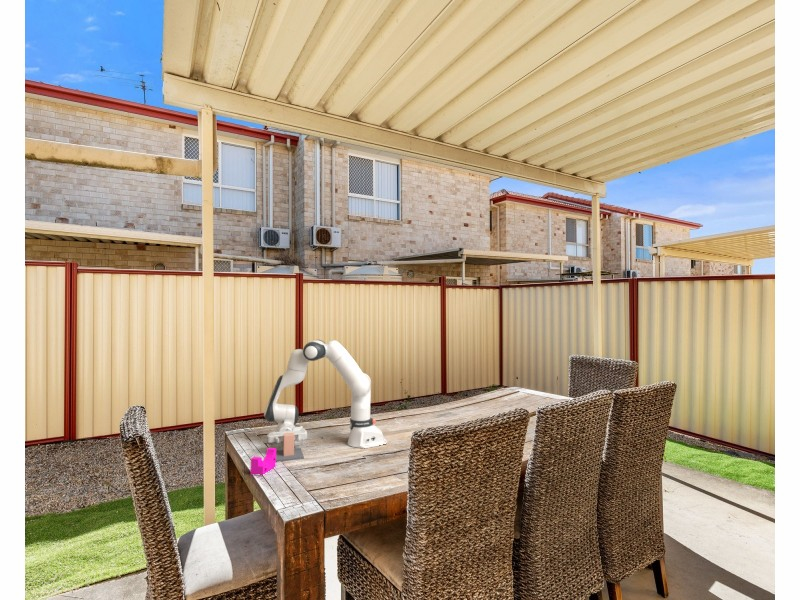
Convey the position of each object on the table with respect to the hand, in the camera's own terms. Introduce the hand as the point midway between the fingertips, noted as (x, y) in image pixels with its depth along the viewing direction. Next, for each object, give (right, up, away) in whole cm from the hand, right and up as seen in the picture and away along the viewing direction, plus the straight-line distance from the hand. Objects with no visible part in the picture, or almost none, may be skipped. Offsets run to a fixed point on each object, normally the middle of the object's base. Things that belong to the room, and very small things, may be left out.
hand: (288, 440), depth 203 cm
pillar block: (0, -7, +1) cm, 7 cm away
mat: (0, -8, +1) cm, 8 cm away
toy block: (-6, -8, -17) cm, 20 cm away
